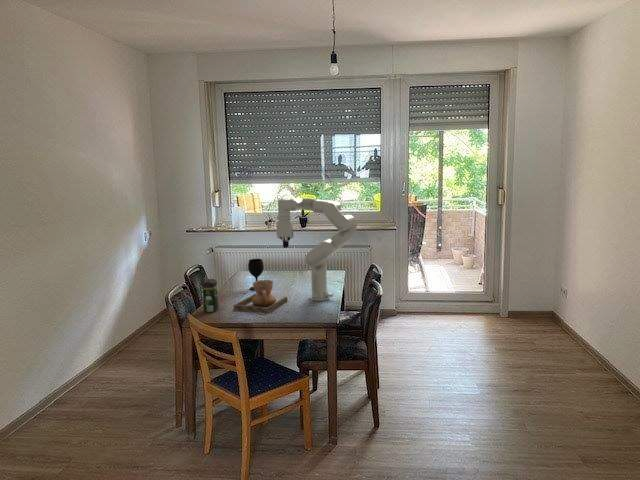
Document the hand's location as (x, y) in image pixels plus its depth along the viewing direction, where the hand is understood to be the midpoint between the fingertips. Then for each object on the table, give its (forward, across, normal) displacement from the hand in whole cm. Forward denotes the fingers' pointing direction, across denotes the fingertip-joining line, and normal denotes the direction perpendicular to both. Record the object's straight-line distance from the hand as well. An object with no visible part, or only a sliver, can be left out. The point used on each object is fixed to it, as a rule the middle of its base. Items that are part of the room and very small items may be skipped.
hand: (285, 247), depth 316 cm
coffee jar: (+32, -31, -42) cm, 61 cm away
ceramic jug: (+32, -6, -23) cm, 40 cm away
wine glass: (+32, -28, +10) cm, 44 cm away
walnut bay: (+32, -6, -24) cm, 40 cm away
